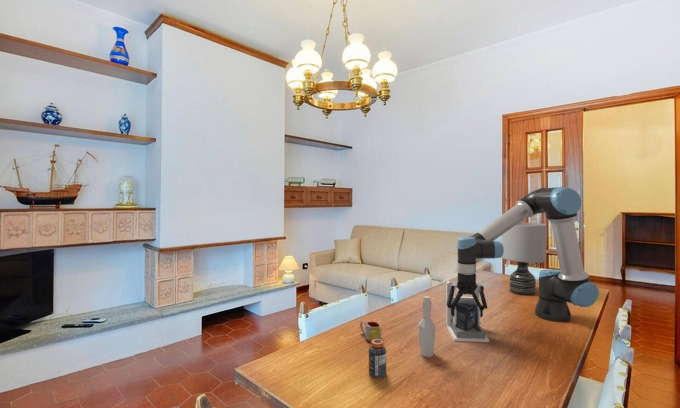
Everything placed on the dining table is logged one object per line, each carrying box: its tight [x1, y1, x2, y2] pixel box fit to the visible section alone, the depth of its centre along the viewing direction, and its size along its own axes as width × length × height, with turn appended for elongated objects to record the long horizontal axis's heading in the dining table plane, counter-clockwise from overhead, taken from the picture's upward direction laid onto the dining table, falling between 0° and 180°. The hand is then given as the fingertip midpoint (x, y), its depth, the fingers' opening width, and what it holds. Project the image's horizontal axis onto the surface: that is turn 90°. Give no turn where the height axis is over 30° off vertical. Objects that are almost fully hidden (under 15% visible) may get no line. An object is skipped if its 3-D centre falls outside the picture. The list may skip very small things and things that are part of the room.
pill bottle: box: [368, 339, 387, 379], centre depth 111 cm, size 6×6×11 cm
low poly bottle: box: [418, 295, 436, 358], centre depth 124 cm, size 6×6×22 cm
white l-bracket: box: [445, 280, 490, 343], centre depth 142 cm, size 15×16×21 cm
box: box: [456, 301, 478, 331], centre depth 142 cm, size 8×6×11 cm
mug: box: [359, 320, 383, 343], centre depth 140 cm, size 12×7×7 cm, turn 33°
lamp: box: [500, 221, 547, 297], centre depth 201 cm, size 24×24×42 cm
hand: (466, 323), depth 142 cm, fingers closed on box, 9 cm apart
